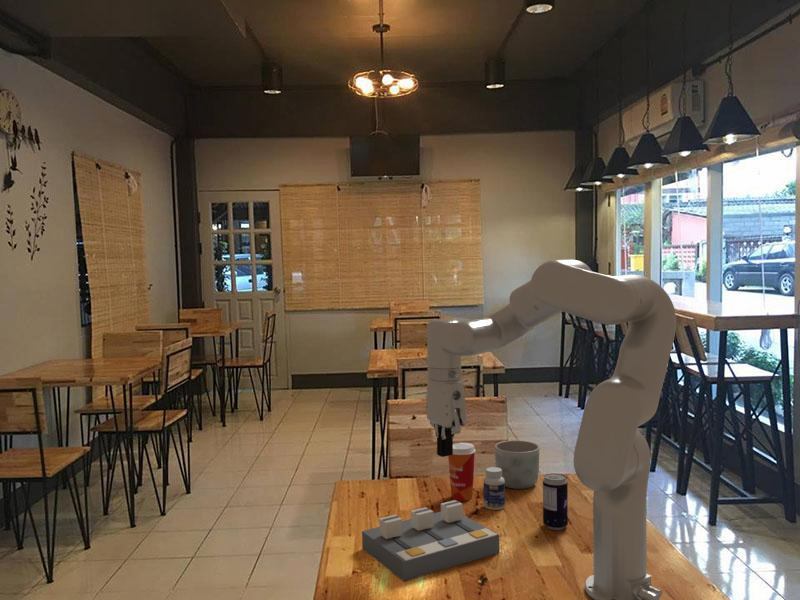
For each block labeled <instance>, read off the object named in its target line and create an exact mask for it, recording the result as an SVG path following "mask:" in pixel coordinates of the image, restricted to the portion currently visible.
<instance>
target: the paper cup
mask: <svg viewBox="0 0 800 600" xmlns="http://www.w3.org/2000/svg"><path fill="white" fill-rule="evenodd" d="M476 451H477V450H476V449H475V445H474V444H472V443H468V442H455V443H453V454H452V455H450V456H447V457H448V469H449V470H448V471H449V483H450V484H449V485H450V495H451V496H450V497H451V499H452V500H453V501H454V500H456V501H458V502H466V501H470V500H472V499H473V494H474V478H475V477H474V472H475V454H476Z"/></svg>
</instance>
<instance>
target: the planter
mask: <svg viewBox="0 0 800 600" xmlns="http://www.w3.org/2000/svg"><path fill="white" fill-rule="evenodd" d="M494 461H495V462H494V464H495V467H497V468H500V469H502V476H501V477H503V478H504V480H505V488H509V489H514V490H518V489H519V490H522V489H529V488H531V487H533V486H534V485H536V484H537V482H538V478H539V473H540V472H539V471H540V470H539V469H540V445H538V444H537V443H536V442H531V441H527V440H513V439H512V440H504V441H500V442H497V443H495V445H494Z"/></svg>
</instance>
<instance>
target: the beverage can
mask: <svg viewBox="0 0 800 600" xmlns="http://www.w3.org/2000/svg"><path fill="white" fill-rule="evenodd" d="M568 487H569V486H568V480H567V477H566V476H565V475H564V474H562V473H561V474H560V473H546V474H545V475H544V479H543V480H542V523H543V525H545V526H546V527H547V528H548V529H549V530H553V531H561V530H564V529H565V528H566V527H567V526H568V524H569V515H568V514H569V512H568V511H569V508H568V506H569V505H568V504H569V503H568V502H569V500H568V497H569V496H568Z"/></svg>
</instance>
